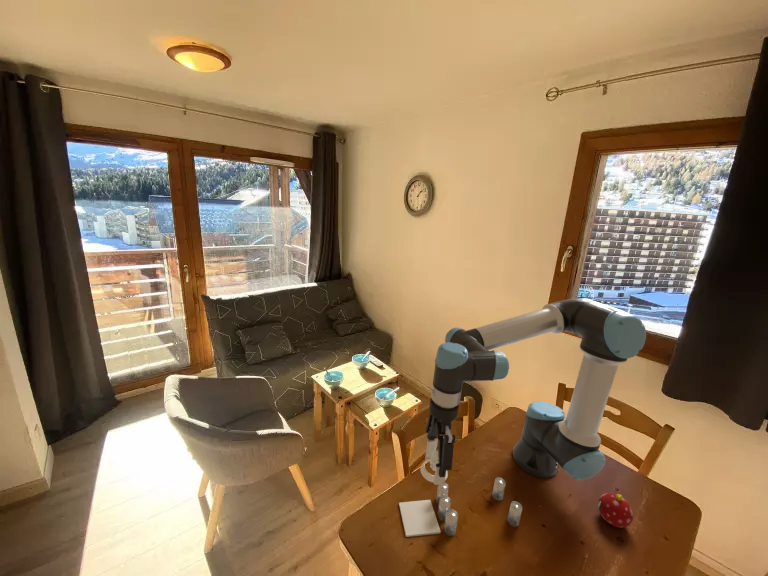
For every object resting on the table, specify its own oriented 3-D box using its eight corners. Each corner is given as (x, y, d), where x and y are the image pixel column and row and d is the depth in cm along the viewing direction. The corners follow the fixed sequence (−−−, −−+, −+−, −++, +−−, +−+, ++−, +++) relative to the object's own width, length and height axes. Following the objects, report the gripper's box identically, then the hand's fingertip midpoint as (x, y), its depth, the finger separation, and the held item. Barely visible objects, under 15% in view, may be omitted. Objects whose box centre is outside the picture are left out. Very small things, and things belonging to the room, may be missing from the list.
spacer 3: (453, 524, 92) (455, 508, 91) (457, 535, 89) (459, 519, 88) (442, 525, 92) (445, 509, 90) (446, 536, 89) (448, 520, 87)
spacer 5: (514, 515, 96) (518, 500, 95) (520, 526, 93) (524, 510, 92) (505, 516, 96) (508, 501, 94) (511, 527, 93) (514, 511, 91)
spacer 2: (446, 510, 97) (448, 494, 95) (449, 520, 94) (452, 504, 92) (436, 511, 96) (438, 495, 95) (439, 521, 93) (441, 505, 92)
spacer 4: (499, 491, 104) (502, 476, 103) (504, 500, 101) (507, 485, 100) (490, 492, 104) (493, 477, 102) (495, 501, 101) (498, 486, 99)
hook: (470, 470, 85) (453, 461, 82) (439, 492, 88) (421, 484, 86) (462, 445, 91) (445, 435, 89) (433, 466, 95) (416, 458, 92)
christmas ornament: (633, 539, 91) (642, 512, 89) (599, 528, 94) (607, 501, 92) (623, 513, 99) (631, 488, 97) (591, 503, 102) (599, 478, 99)
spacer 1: (444, 496, 101) (446, 481, 100) (447, 505, 98) (450, 490, 97) (434, 497, 101) (436, 482, 99) (438, 506, 98) (440, 491, 96)
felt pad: (430, 501, 99) (430, 499, 99) (440, 533, 90) (440, 531, 90) (398, 504, 98) (399, 502, 97) (406, 537, 88) (406, 535, 88)
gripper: (420, 379, 93) (412, 444, 99) (444, 427, 73) (432, 505, 79) (445, 379, 94) (435, 443, 100) (474, 426, 75) (460, 502, 80)
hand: (434, 470), depth 90 cm, fingers closed on hook, 8 cm apart
